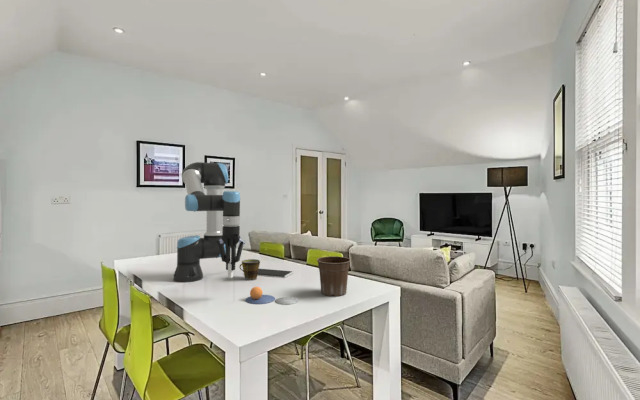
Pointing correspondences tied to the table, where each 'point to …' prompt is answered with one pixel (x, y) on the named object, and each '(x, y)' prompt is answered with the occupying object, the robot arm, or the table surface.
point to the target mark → (261, 299)
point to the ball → (256, 292)
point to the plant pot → (333, 275)
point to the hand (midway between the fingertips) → (230, 277)
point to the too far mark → (286, 300)
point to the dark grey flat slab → (274, 273)
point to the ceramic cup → (250, 268)
